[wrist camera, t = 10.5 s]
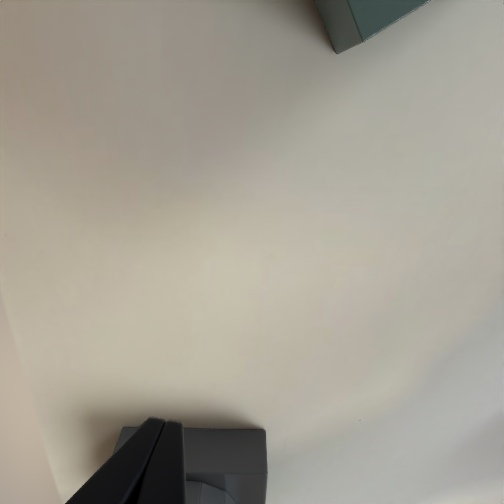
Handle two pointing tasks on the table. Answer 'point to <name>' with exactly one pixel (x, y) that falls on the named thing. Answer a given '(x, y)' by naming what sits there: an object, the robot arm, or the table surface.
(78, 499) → the robot arm
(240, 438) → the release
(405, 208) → the table surface
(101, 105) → the table surface
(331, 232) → the table surface
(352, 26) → the dark green flat block
